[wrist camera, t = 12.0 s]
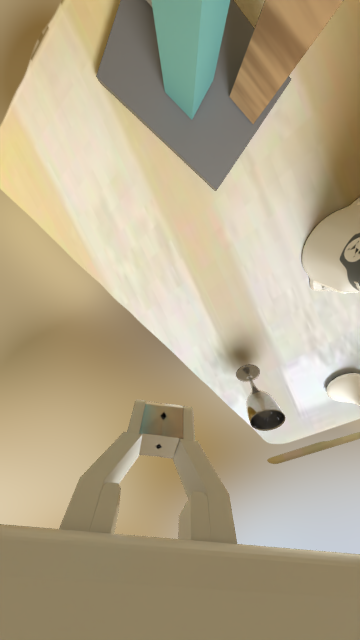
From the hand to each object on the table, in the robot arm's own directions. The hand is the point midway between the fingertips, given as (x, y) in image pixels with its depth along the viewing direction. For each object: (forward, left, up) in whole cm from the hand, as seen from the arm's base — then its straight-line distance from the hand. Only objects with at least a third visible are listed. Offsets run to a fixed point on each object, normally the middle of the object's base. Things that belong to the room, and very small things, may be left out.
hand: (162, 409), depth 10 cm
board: (+3, -27, -35) cm, 44 cm away
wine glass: (-27, +28, -35) cm, 53 cm away
